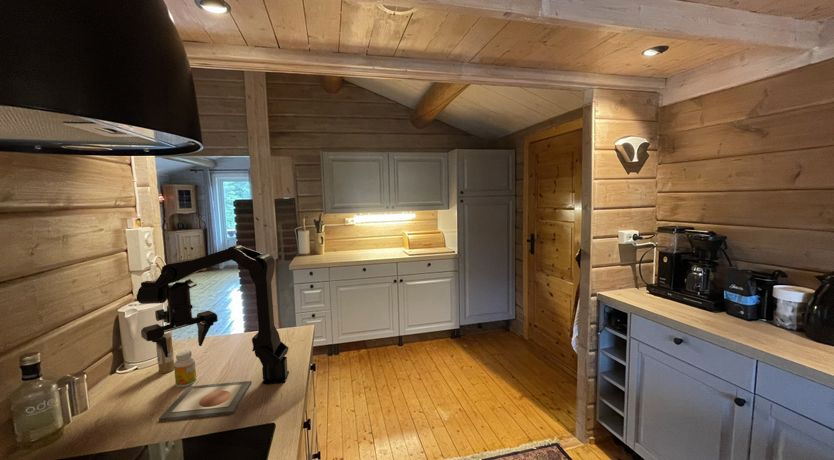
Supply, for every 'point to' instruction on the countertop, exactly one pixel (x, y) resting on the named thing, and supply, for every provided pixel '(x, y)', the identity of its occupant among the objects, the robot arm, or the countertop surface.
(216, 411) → the grey bordered rectangular panel
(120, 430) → the countertop surface
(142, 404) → the countertop surface
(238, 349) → the countertop surface
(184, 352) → the supplement bottle
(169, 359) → the sprinkles bottle
